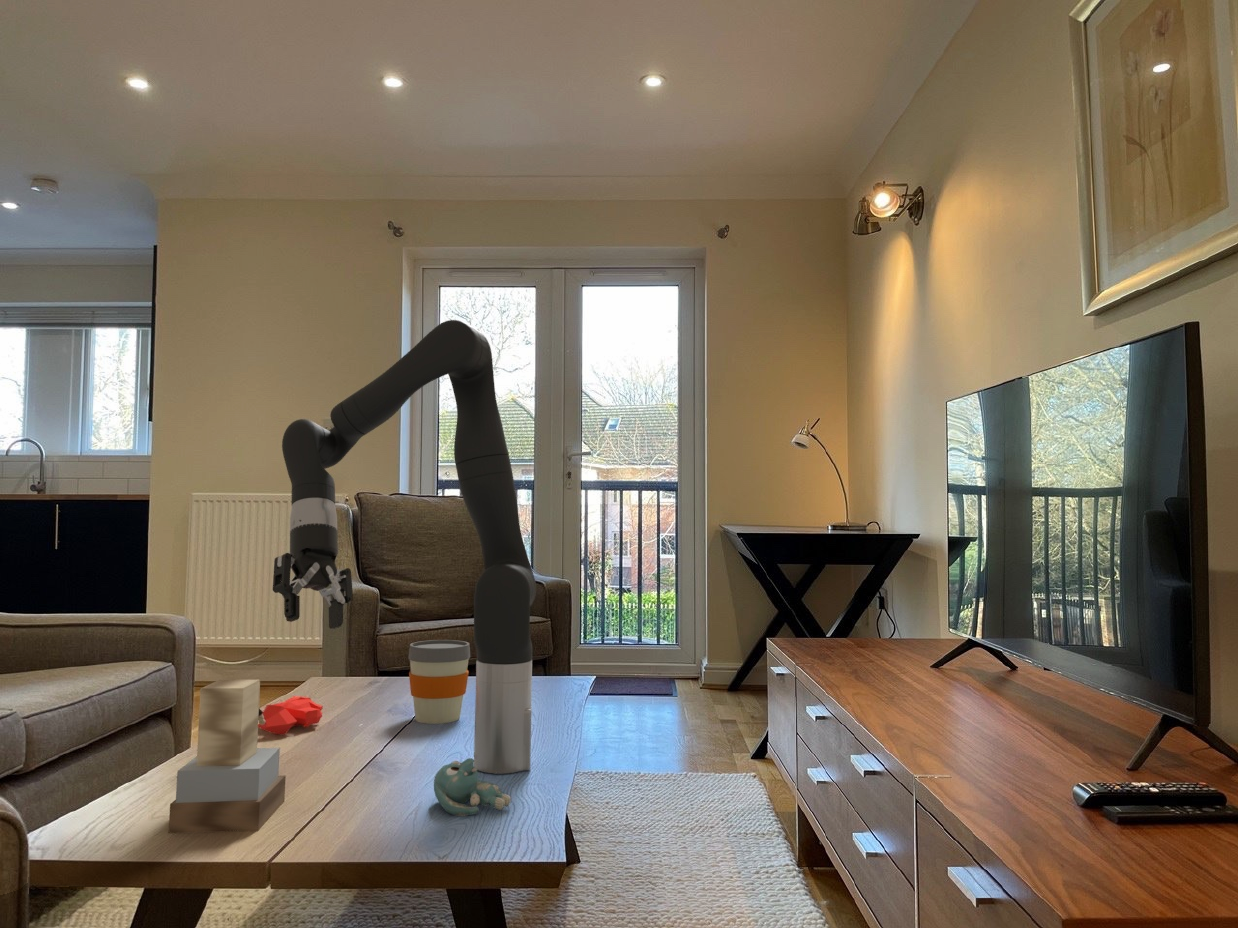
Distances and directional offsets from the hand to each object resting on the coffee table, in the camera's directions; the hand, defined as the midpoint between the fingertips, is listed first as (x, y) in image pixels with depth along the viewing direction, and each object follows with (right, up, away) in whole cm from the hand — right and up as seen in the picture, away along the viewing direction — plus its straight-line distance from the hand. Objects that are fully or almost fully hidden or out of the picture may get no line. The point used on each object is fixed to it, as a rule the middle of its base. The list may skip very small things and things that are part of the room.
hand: (314, 624), depth 128 cm
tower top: (-4, -18, -20) cm, 27 cm away
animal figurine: (-15, -26, +26) cm, 40 cm away
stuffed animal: (+28, -23, -15) cm, 39 cm away
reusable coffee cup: (+11, -27, +36) cm, 46 cm away
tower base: (-4, -22, -20) cm, 30 cm away
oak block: (-4, -14, -20) cm, 25 cm away
